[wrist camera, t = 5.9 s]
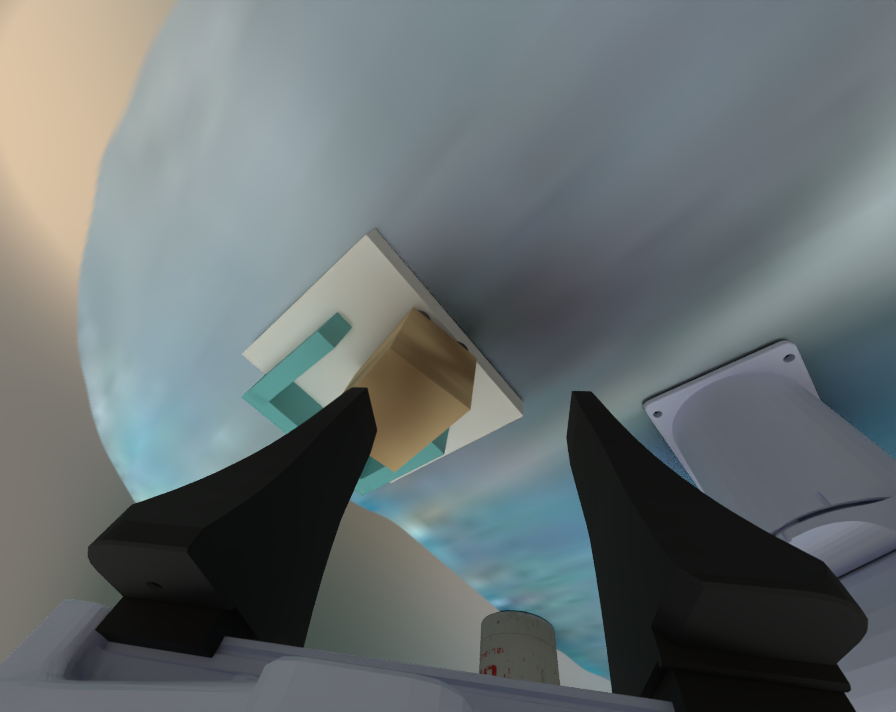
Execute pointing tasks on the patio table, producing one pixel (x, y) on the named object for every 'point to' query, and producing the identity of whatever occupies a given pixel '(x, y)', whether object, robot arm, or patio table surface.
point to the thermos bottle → (518, 647)
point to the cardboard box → (415, 387)
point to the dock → (363, 352)
